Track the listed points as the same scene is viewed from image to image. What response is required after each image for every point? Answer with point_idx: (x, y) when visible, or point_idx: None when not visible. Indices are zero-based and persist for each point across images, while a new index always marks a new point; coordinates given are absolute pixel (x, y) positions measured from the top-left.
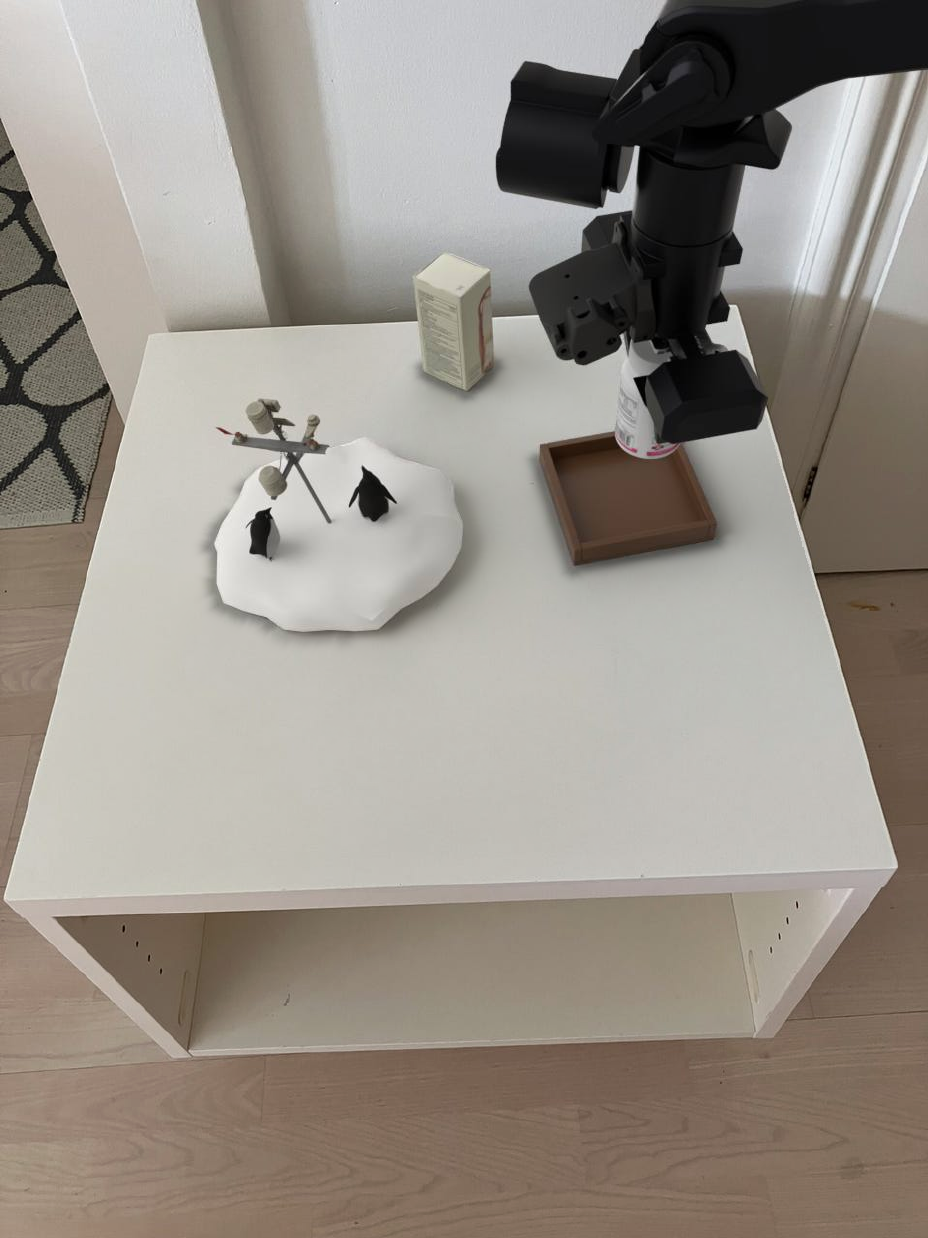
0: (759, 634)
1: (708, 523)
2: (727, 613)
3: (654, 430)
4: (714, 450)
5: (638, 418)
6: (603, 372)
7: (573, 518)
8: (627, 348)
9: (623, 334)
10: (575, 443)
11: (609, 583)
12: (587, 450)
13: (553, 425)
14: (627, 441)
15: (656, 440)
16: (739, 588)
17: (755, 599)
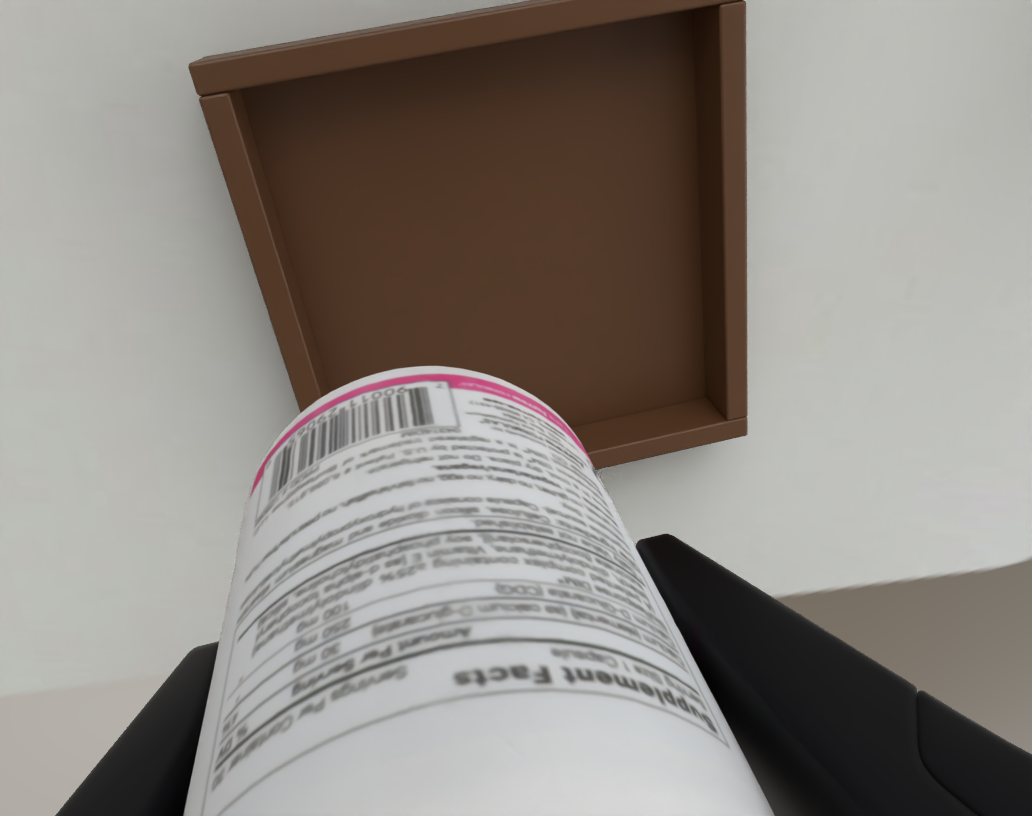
0: (13, 573)
1: None
2: (73, 506)
3: (183, 709)
4: (650, 506)
5: (227, 664)
6: (1011, 237)
7: (411, 78)
8: (869, 740)
9: (1030, 776)
10: (721, 118)
11: (138, 182)
12: (702, 159)
13: (852, 44)
14: (286, 460)
15: (179, 668)
16: (169, 537)
17: (136, 570)
